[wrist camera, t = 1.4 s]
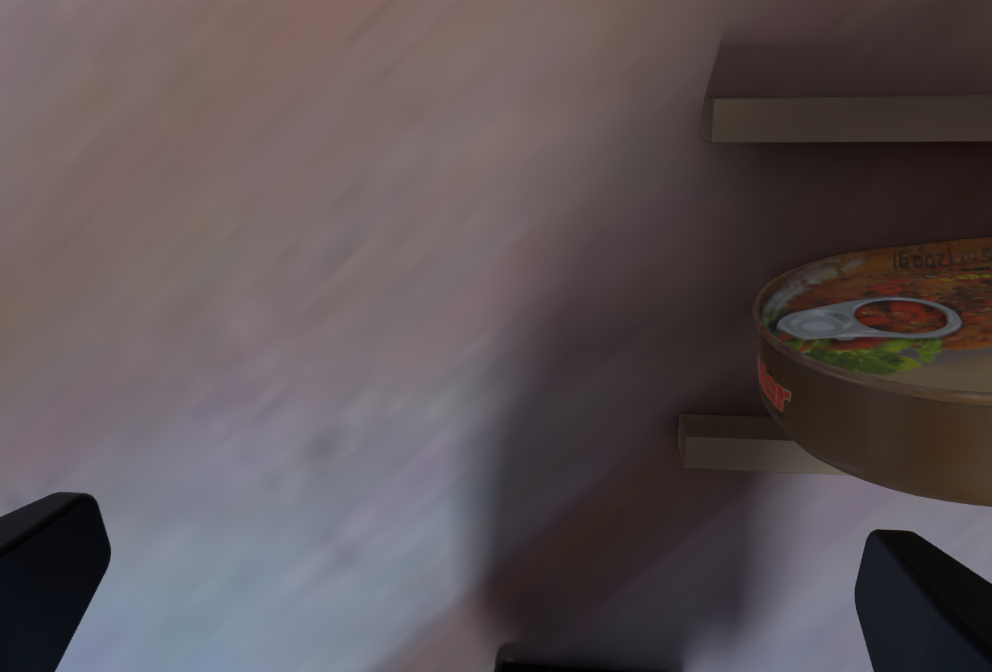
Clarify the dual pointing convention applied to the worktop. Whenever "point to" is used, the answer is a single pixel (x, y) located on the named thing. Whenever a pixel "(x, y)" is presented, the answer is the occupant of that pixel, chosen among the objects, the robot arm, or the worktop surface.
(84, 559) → the robot arm
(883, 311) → the tin
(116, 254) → the worktop surface
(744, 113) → the dock
